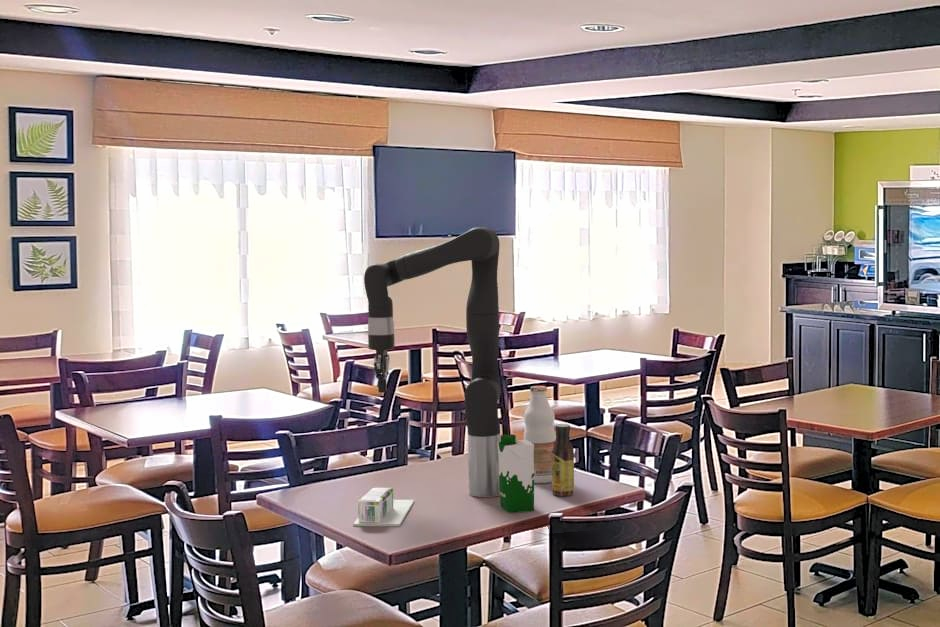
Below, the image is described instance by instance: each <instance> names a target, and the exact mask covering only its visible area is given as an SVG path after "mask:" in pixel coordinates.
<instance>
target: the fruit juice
mask: <svg viewBox="0 0 940 627" xmlns="http://www.w3.org/2000/svg"><path fill="white" fill-rule="evenodd" d="M529 388H530V389H529V390H530V393H531V396H530V399H529V403H528V406H527V408H526V409H525V411H524V412H523V413H524V414H523V420H524V424H525V429H524V430H523V431H524V432H523V439H525V440H527V441H529V442H530V443H532V444H534V484H547V483H548V484H550V483H552V450H553V447H554V444H555V441H556V430H555V428H554V422H555V420H556V416H555V412H554V410H553V408H552V407H551V405H550V403H549V400H548V397H547V393H548V387H547V385H533V386H530V387H529Z"/></svg>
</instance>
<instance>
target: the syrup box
mask: <svg viewBox="0 0 940 627" xmlns="http://www.w3.org/2000/svg"><path fill="white" fill-rule="evenodd" d="M394 500H395V499H394V488H393V487H373V488H371V489H370V490H369V491H368V492H367V493H366V494H365V495H363V496H362V497H361V498H360V499H359V500H358V511H357V512H358V513H357V514H358V517H359V522H376V523H379V522H380V521H381V520H382V519H383V518H384V517H385V516H386V515H387V514H388V513H389V512H390V511H391V510H392V509H393V501H394Z"/></svg>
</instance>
